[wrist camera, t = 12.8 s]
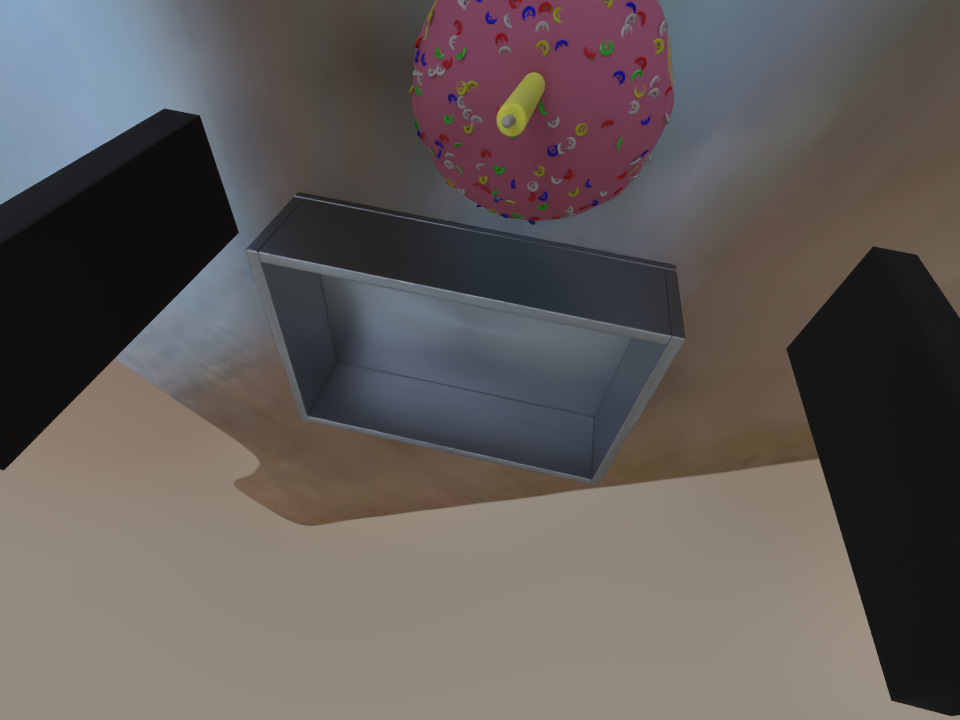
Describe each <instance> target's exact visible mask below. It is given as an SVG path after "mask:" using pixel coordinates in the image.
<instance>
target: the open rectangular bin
mask: <svg viewBox="0 0 960 720" xmlns="http://www.w3.org/2000/svg"><path fill="white" fill-rule="evenodd" d="M246 253H247V256H248V259H249V262H250V265H251V268H252V271H253V274H254V277H255V281H256V284H257V287H258V290H259V293H260V296H261V299H262V302H263V305H264V308H265V311H266V314H267V317H268V321H269V324H270V327H271V330H272V333H273V336H274V339H275V342H276V345H277V348H278V351H279V354H280V357H281V361H282V364H283V367H284V370H285V373H286V376H287V379H288V382H289V385H290V388H291V391H292V394H293V397H294V401H295V404H296V407H297V410H298V413H299V416H300V419H302V420H307V421H308V420H309V421H311V422H315V423H319V424H324V425H328V426H333V427H337V428H342V429H346V430H351V431H355V432H360V433H364V434H368V435H373V436H377V437H382V438H386V439H391V440H395V441H400V442H404V443H408V444H413V445H417V446H422V447H426V448H431V449H435V450H440V451H444V452H449V453H453V454H457V455H462V456H466V457H471V458H475V459H480V460H484V461H489V462H493V463H497V464H502V465H506V466H511V467H515V468H520V469H524V470H529V471H533V472H538V473H542V474H546V475H551V476H555V477H560V478H564V479H569V480H573V481H578V482H582V483H586V484H589V483H590V484H591V485H596V486H599V484H600V482H601V481H602V479H603V477H604V476H605V474H606V472H607V471H608V469H609V467H610V465H611V464H612V462H613V460H614V459H615V457H616V455H617V454H618V452H619V450H620V449H621V447H622V445H623V444H624V442H625V440H626V439H627V437H628V435H629V433H630V432H631V430H632V428H633V427H634V425H635V423H636V422H637V420H638V418H639V417H640V415H641V413H642V412H643V410H644V408H645V407H646V405H647V403H648V401H649V400H650V398H651V396H652V395H653V393H654V391H655V390H656V388H657V386H658V385H659V383H660V381H661V380H662V378H663V376H664V375H665V373H666V371H667V370H668V368H669V366H670V364H671V363H672V361H673V359H674V358H675V356H676V354H677V353H678V351H679V349H680V348H681V346H682V344H683V343H684V341H685V332H684V324H683V316H682V309H681V301H680V294H679V286H678V278H677V271H676V266H673V265H668V264H663V263H657V262H652V261H647V260H642V259H637V258H632V257H627V256H621V255H616V254H611V253H606V252H601V251H596V250H591V249H585V248H580V247H575V246H570V245H565V244H560V243H555V242H549V241H544V240H539V239H534V238H529V237H524V236H519V235H513V234H508V233H503V232H498V231H493V230H488V229H483V228H477V227H472V226H467V225H462V224H457V223H452V222H447V221H441V220H436V219H431V218H426V217H421V216H416V215H411V214H405V213H400V212H395V211H390V210H385V209H380V208H375V207H369V206H364V205H359V204H354V203H349V202H344V201H338V200H333V199H328V198H323V197H318V196H313V195H308V194H302V193H297V194H296V195H295V197H293V198H292V199H291V201H290V202H289V203H288V204H287V205H286V206H285V207H284V208H283V209H282V210H281V211H280V213H279V214H278V215H277V216H276V217H275V218H274V219H273V220H272V221H271V222H270V223H269V225H268V226H267V227H266V228H265V229H264V230H263V231H262V232H261V233H260V234H259V235H258V237H257V238H256V239H255V240H254V241H253V242H252V243H251V244H250V245H249V246H248V247H247V249H246Z"/></svg>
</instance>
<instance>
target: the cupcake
mask: <svg viewBox="0 0 960 720" xmlns="http://www.w3.org/2000/svg"><path fill="white" fill-rule="evenodd" d="M413 75H414V76H413V86H412V87H411V89H410V91H409V93H411V92H412V95H411V103H412V108H413V112H414V116H415V119H416V120H415V125H416V127H417V128H418V129H419V130H418V131H417V134H418V136H419V137H420V138H421V140H423V141H424V143H425V145H426V147H427V149H428V151H429V154H430V156H431V158H432V160H433V162H434V164H435V165H436V167H437V169H438V170H439V172H440V173H441V174H442V176H443V177H444V178H445V179H446V180H447V182H446V183H447V184H448V185H450V186H452V187H455V188H456V189H457V190H458V192H459V193H460V194H461V195H465V196H466V197H468V198H469V199H470V200H472V201H473V202H475V203H477V204H478V205H477V207H484V208H486V209H488V210H489V212H491V213H499V214H498V216H501V215H502V216H503V217H505V218H508V217H509V218H517V219H525V220H528V221H529V222H530V223H531V224H532V225H534V224H535V221H538V220H554V219H561V218H569V217H571V216H574V215H577V214H580V213H582V212H585V211H587V210H589V209H591V208H593V207H596V206H598V205H600V204H602V203H604V202H606V201H609V200H611V199H612V198H614V197H616V196H617V195H619V194H620V193H621V192H622V191H623V190H624V189H625V188H626V187H627V186H628V185H629V183H630V182H631V181H632V179H634V178H636V177H638V176H637V175H636V174H637V173H638V172H639V170H640V169H641V167H642V166H643V165H645V164H647V163H648V162H649V161H650V160H651V155H650V153H651V151H652V149H653V148H654V146H655V144H656V142H657V141H658V139H659V137H660V135H661V133H662V131H663V130H664V128H665V126H666V124H669V117H670V114H671V111H672V108H673V103H674V93H673V77H672V61H671V50H670V44H669V38H668V33H667V22H666V21H665V17H664V14H663V11H662V9H661V7H660V4H659V2H658V0H435V2H434V4H433V6H432V8H431V10H430V12H429V14H428V16H427V18H426V21H425V23H424V25H423V27H422V30H421V32H420V35H419V37H418V40H417V41H416V43H415V59H414V70H413ZM420 133H421V134H420ZM647 158H648V160H647ZM645 161H646V162H645ZM505 215H506V216H505ZM530 220H531V221H530ZM532 221H533V222H532Z"/></svg>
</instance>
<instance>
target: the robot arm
mask: <svg viewBox="0 0 960 720" xmlns="http://www.w3.org/2000/svg"><path fill="white" fill-rule="evenodd" d="M238 233H239V232H238V229H237V226H236V223H235V220H234V217H233V214H232V211H231V208H230V205H229V202H228V199H227V196H226V193H225V190H224V187H223V184H222V181H221V178H220V175H219V172H218V169H217V166H216V163H215V160H214V157H213V154H212V151H211V148H210V145H209V142H208V139H207V136H206V133H205V130H204V127H203V124H202V121H201V118H200V115H195V114H190V113H184V112H179V111H174V110H169V109H163V110H161V111H159V112H158V113H156V114H154V115H153V116H151V117H149V118H148V119H146V120H144V121H142V122H141V123H139V124H137V125H136V126H134V127H132V128H130V129H129V130H127V131H125V132H124V133H122V134H120V135H119V136H117V137H115V138H113V139H112V140H110V141H108V142H107V143H105V144H103V145H101V146H100V147H98V148H96V149H95V150H93V151H91V152H90V153H88V154H86V155H84V156H83V157H81V158H79V159H78V160H76V161H74V162H73V163H71V164H69V165H67V166H66V167H64V168H62V169H61V170H59V171H57V172H55V173H54V174H52V175H50V176H49V177H47V178H45V179H44V180H42V181H40V182H38V183H37V184H35V185H33V186H32V187H30V188H28V189H26V190H25V191H23V192H21V193H20V194H18V195H16V196H15V197H13V198H11V199H9V200H8V201H6V202H4V203H3V204H1V205H0V469H1V470H5V469H6V468H7V467H8V466H9V465H10V464H11V463H12V462H13V461H14V460H15V459H16V458H17V457H18V456H19V455H20V454H21V452H22V451H24V450H25V449H26V448H27V447H28V445H30V444H31V442H32V441H33V440H34V439H35V438H36V437H37V436H38V435H39V434H40V433H41V432H42V431H43V430H44V429H45V428H46V427H47V426H48V425H49V424H50V423H51V422H52V421H53V420H54V419H55V418H56V417H57V416H58V415H59V414H60V413H61V412H62V411H63V410H64V409H65V408H66V407H67V406H68V405H69V404H70V403H71V402H72V401H73V400H74V399H75V398H76V397H77V396H78V395H79V394H80V393H81V392H82V391H83V390H84V389H85V388H86V387H87V386H88V385H89V384H90V383H91V382H92V381H93V379H95V378H96V377H97V375H98V374H100V373H101V371H103V370H104V369H105V367H107V366H108V364H110V362H111V361H113V359H114V358H115V357H116V356H117V355H118V354H119V353H120V352H121V351H122V350H123V349H124V348H125V347H126V346H127V345H128V344H129V343H130V342H131V341H132V340H133V339H134V338H135V337H136V336H137V335H138V334H139V333H140V332H141V331H142V330H143V329H144V328H145V327H146V326H147V325H148V324H149V323H150V322H151V321H152V320H153V319H154V318H155V317H156V316H157V315H158V314H159V313H160V312H161V311H162V310H163V309H164V308H165V307H166V306H167V305H168V304H169V303H170V302H171V301H172V300H173V299H174V298H175V297H176V296H177V295H178V294H179V293H180V292H181V291H182V290H183V289H184V288H185V287H186V286H187V285H188V284H189V283H190V282H191V281H192V280H193V279H194V278H195V277H196V275H197V274H198V273H199V272H200V271H201V270H202V269H203V268H204V267H205V266H206V265H207V264H208V263H209V262H210V261H211V260H212V259H213V258H214V257H215V256H216V255H217V254H218V253H219V252H220V251H221V250H222V249H223V248H224V247H225V246H226V245H227V244H228V243H229V242H230V241H231V240H232V239H233V238H234V237H235V236H236V235H237V234H238ZM787 352H788V356H789V359H790V362H791V366H792V369H793V372H794V376H795V379H796V382H797V386H798V389H799V392H800V396H801V399H802V402H803V406H804V409H805V413H806V416H807V419H808V423H809V426H810V429H811V433H812V436H813V439H814V443H815V446H816V449H817V453H818V456H819V459H820V463H821V466H822V469H823V472H824V476H825V480H826V483H827V486H828V489H829V493H830V496H831V499H832V503H833V506H834V509H835V513H836V516H837V520H838V523H839V526H840V530H841V533H842V536H843V540H844V543H845V547H846V549H847V553H848V556H849V560H850V563H851V567H852V570H853V573H854V576H855V580H856V583H857V587H858V590H859V593H860V596H861V600H862V603H863V607H864V610H865V614H866V616H867V620H868V624H869V627H870V630H871V634H872V637H873V640H874V644H875V647H876V650H877V654H878V657H879V661H880V664H881V667H882V670H883V674H884V677H885V680H886V684H887V687H888V691H889V694H890V697H891V700H892V701H895V702H899V703H903V704H907V705H911V706H915V707H918V708H922V709H926V710H930V711H934V712H938V713H941V714H945V715H949V716H955V715H960V318H959V317H958V315H957V314H956V312H955V311H954V309H953V308H952V306H951V305H950V303H949V302H948V300H947V299H946V297H945V296H944V294H943V293H942V291H941V290H940V288H939V287H938V285H937V284H936V282H935V281H934V280H933V278H932V277H931V275H930V274H929V272H928V271H927V269H926V268H925V266H924V265H923V263H922V262H921V260H920V259H919V257H918V256H917V255H914V254H909V253H904V252H899V251H894V250H889V249H883V248H878V247H872V248H871V250H870V251H869V252H868V253H867V254H866V256H865V257H864V258H863V259H862V260H861V261H860V263H859V264H858V265H857V266H856V267H855V269H854V270H853V271H852V272H851V273H850V274H849V276H848V277H847V278H846V279H845V280H844V282H843V283H842V284H841V285H840V286H839V287H838V289H837V290H836V291H835V292H834V293H833V294H832V296H831V297H830V298H829V299H828V300H827V302H826V303H825V304H824V305H823V306H822V307H821V309H820V310H819V311H818V312H817V313H816V315H815V316H814V317H813V318H812V319H811V320H810V322H809V323H808V324H807V325H806V326H805V328H804V329H803V330H802V331H801V332H800V333H799V335H798V336H797V337H796V338H795V339H794V340H793V342H792V343H791V344H790V345H789V346H788V348H787Z"/></svg>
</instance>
